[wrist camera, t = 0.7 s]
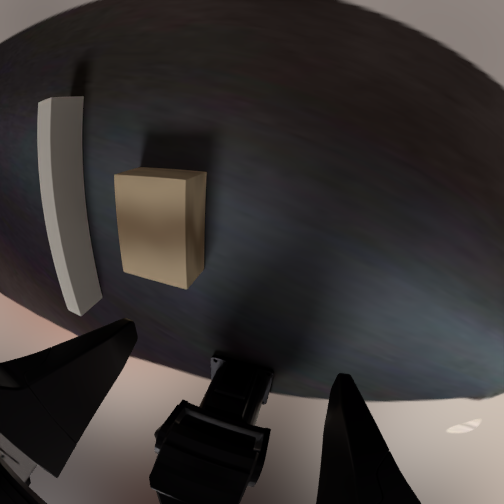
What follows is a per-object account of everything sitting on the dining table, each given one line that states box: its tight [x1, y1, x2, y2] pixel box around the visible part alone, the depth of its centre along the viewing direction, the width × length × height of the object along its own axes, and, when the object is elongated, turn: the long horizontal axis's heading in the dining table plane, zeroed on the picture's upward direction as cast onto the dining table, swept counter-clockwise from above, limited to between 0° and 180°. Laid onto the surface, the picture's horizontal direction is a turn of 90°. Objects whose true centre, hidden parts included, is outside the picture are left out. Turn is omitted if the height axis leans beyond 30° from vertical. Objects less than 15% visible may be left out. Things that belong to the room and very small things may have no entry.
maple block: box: [114, 167, 207, 289], centre depth 20 cm, size 8×6×4 cm
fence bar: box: [37, 96, 103, 316], centre depth 21 cm, size 22×2×4 cm, turn 175°
